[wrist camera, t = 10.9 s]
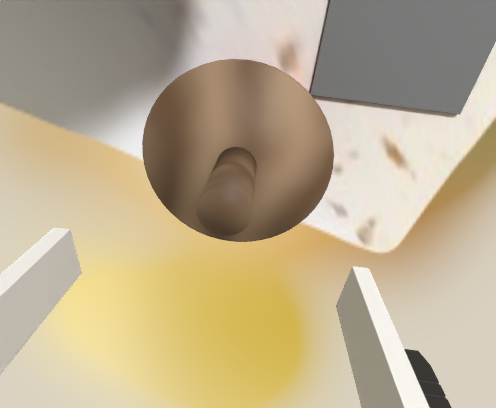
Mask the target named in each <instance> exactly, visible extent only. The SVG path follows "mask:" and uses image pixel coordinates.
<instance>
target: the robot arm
mask: <svg viewBox="0 0 496 408" xmlns="http://www.w3.org/2000/svg"><path fill="white" fill-rule="evenodd" d="M81 273H82V272H81V268H80V264H79V261H78V257H77V253H76V249H75V246H74V242H73V238H72V234H71V231H70V229H62V228H53V229H51V230H50V231H49V232H48V233H47V234H46V235H45V236H43V237H42V238H41V239H40V240H39V241H38V242H36V243H35V244H34V245H33V246H32V247H31V248H30V249H28V250H27V251H26V252H25V253H24V254H23V255H22V256H20V257H19V258H18V259H17V260H16V261H15V262H14V263H12V264H11V265H10V266H9V267H8V268H7V269H6V270H4V271H3V272H2V273H1V274H0V374H1V373H2V372H3V370H4V369H5V368H6V367H7V365H8V364H9V363H10V362H11V360H12V359H13V358H14V357H15V355H16V354H17V353H18V352H19V351H20V349H21V348H22V347H23V346H24V344H25V343H26V342H27V341H28V339H29V338H30V337H31V336H32V334H33V333H34V332H35V331H36V329H37V328H38V327H39V326H40V324H41V323H42V322H43V321H44V319H45V318H46V317H47V316H48V314H49V313H50V312H51V311H52V309H53V308H54V307H55V306H56V304H57V303H58V302H59V301H60V299H61V298H62V297H63V296H64V294H65V293H66V292H67V291H68V290H69V288H70V287H71V286H72V285H73V283H74V282H75V281H76V280H77V278H78V277H79V276H80V275H81ZM336 307H337V312H338V316H339V320H340V323H341V328H342V332H343V336H344V339H345V343H346V347H347V351H348V355H349V359H350V363H351V367H352V371H353V375H354V379H355V383H356V387H357V391H358V395H359V399H360V403H361V407H362V408H451V406H450V404H449V402H448V400H447V399H446V398H445V394H444V392H443V390H442V388H441V386H440V385H439V382H438V379H437V377H436V375H435V373H434V371H433V369H432V367H431V366H430V364H429V363H428V362H427V361H426V360H425V358H424V357H423V356H422V355H421V354H420V352H419V351H415V350H407V349H404V348H403V346H402V343H401V341H400V339H399V336H398V334H397V332H396V330H395V328H394V325H393V323H392V320H391V318H390V316H389V314H388V311H387V309H386V307H385V304H384V302H383V300H382V298H381V295H380V293H379V291H378V288H377V286H376V284H375V282H374V279H373V277H372V275H371V273H370V270H369V268H362V267H354V266H353V267H352V269H351V271H350V273H349V276H348V278H347V281H346V283H345V285H344V288H343V290H342V293H341V295H340V298H339V300H338V303H337V305H336Z"/></svg>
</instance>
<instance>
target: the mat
mask: <svg viewBox="0 0 496 408" xmlns="http://www.w3.org/2000/svg"><path fill="white" fill-rule="evenodd" d="M495 42H496V0H330V3H329V8H328V12H327V17H326V22H325V26H324V31H323V36H322V40H321V45H320V50H319V54H318V59H317V64H316V69H315V73H314V78H313V83H312V87H311V92H310V94H311V95H316V96H324V97H331V98H339V99H347V100H354V101H362V102H369V103H377V104H385V105H392V106H400V107H408V108H415V109H423V110H431V111H438V112H446V113H453V114H460V113H461V111H462V109H463V107H464V105H465V103H466V101H467V99H468V97H469V95H470V93H471V91H472V89H473V87H474V85H475V83H476V81H477V79H478V77H479V75H480V72H481V70H482V68H483V66H484V64H485V62H486V60H487V58H488V56H489V54H490V52H491V50H492V48H493V46H494V44H495Z"/></svg>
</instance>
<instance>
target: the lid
mask: <svg viewBox="0 0 496 408" xmlns="http://www.w3.org/2000/svg"><path fill="white" fill-rule="evenodd" d="M143 159H144V165H145V169H146V172H147V176H148V179H149V181H150V183H151V185H152V188H153V189H154V191H155V193H156V195H157V196H158V198H159V199H160V200H161V202H162V203H163V204H164V206H165V207H166V208H167V209H168V210H169V211H170V212H171V213H172V214H173V215H174V216H175V217H177V218H178V219H179V220H180V221H181V222H183V223H184V224H186V225H187V226H189V227H190V228H192V229H194V230H196V231H198V232H200V233H203V234H205V235H207V236H210V237H214V238H217V239H222V240H227V241H237V242H247V241H256V240H263V239H267V238H271V237H274V236H277V235H279V234H281V233H284V232H286V231H287V230H290V229H291V228H292V227H294V226H296V225H297V224H299V223H300V222H301V221H303V220H304V219H305V218H306V217H307V216H308V215H309V214H310V213H311V212H312V211H313V210H314V209H315V207H316V206H317V205H318V203H319V202H320V200H321V199H322V197H323V195H324V193H325V191H326V189H327V187H328V184H329V181H330V178H331V174H332V169H333V159H334V151H333V141H332V136H331V131H330V128H329V125H328V123H327V120H326V118H325V116H324V114H323V112H322V110H321V108H320V107H319V105H318V104H317V102H316V101H315V100H314V98H313V97H312V96H311V94H310V93H309V92H308V91H307V90H306V89H305V88H304V87H303V86H302V85H301V84H300V83H299V82H297V81H296V80H295V79H293V78H292V77H291V76H289V75H288V74H286V73H284V72H282V71H281V70H279V69H277V68H275V67H272V66H269V65H267V64H264V63H261V62H256V61H251V60H241V59H229V60H219V61H215V62H211V63H207V64H204V65H201V66H199V67H196V68H194V69H192V70H189V71H188V72H186V73H184V74H183V75H181V76H180V77H178V78H177V79H176V80H174V81H173V82H172V83H171V84H170V85H168V86H167V88H166V89H165V90H164V91H163V92H162V93H161V94H160V96H159V97H158V99H157V100H156V102H155V103H154V105H153V107H152V109H151V111H150V113H149V115H148V118H147V121H146V125H145V128H144V134H143Z"/></svg>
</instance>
